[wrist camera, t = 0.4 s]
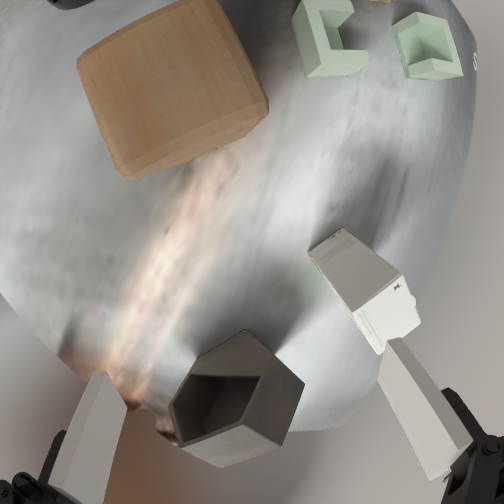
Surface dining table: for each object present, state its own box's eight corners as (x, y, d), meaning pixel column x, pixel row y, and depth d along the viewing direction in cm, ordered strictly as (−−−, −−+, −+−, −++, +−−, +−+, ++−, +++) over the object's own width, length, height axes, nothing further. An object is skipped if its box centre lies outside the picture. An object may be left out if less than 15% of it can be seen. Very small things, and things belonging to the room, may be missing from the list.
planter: (288, 321, 37) (222, 465, 23) (316, 352, 39) (265, 483, 25) (211, 333, 48) (151, 433, 34) (238, 359, 50) (187, 454, 36)
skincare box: (306, 251, 39) (346, 311, 24) (344, 224, 38) (403, 269, 23) (334, 292, 42) (376, 359, 27) (369, 267, 41) (424, 323, 26)
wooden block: (221, 65, 29) (211, -17, 11) (252, 133, 33) (278, 114, 14) (148, 99, 30) (67, 57, 12) (178, 166, 34) (118, 188, 15)
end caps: (305, 78, 31) (321, 64, 24) (290, 21, 27) (302, -2, 21) (434, 81, 31) (463, 75, 24) (420, 31, 27) (446, 20, 21)
